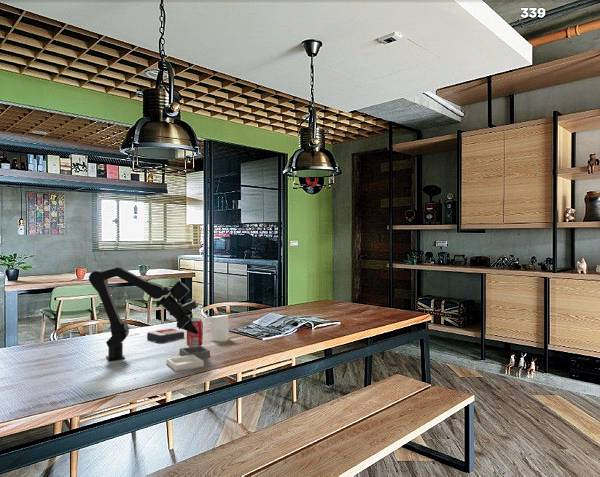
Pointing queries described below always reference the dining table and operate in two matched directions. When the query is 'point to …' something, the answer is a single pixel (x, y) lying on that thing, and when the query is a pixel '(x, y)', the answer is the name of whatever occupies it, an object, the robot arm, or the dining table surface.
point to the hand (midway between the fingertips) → (197, 331)
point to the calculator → (165, 335)
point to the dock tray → (184, 362)
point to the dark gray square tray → (195, 351)
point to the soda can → (193, 338)
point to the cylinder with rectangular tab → (219, 328)
